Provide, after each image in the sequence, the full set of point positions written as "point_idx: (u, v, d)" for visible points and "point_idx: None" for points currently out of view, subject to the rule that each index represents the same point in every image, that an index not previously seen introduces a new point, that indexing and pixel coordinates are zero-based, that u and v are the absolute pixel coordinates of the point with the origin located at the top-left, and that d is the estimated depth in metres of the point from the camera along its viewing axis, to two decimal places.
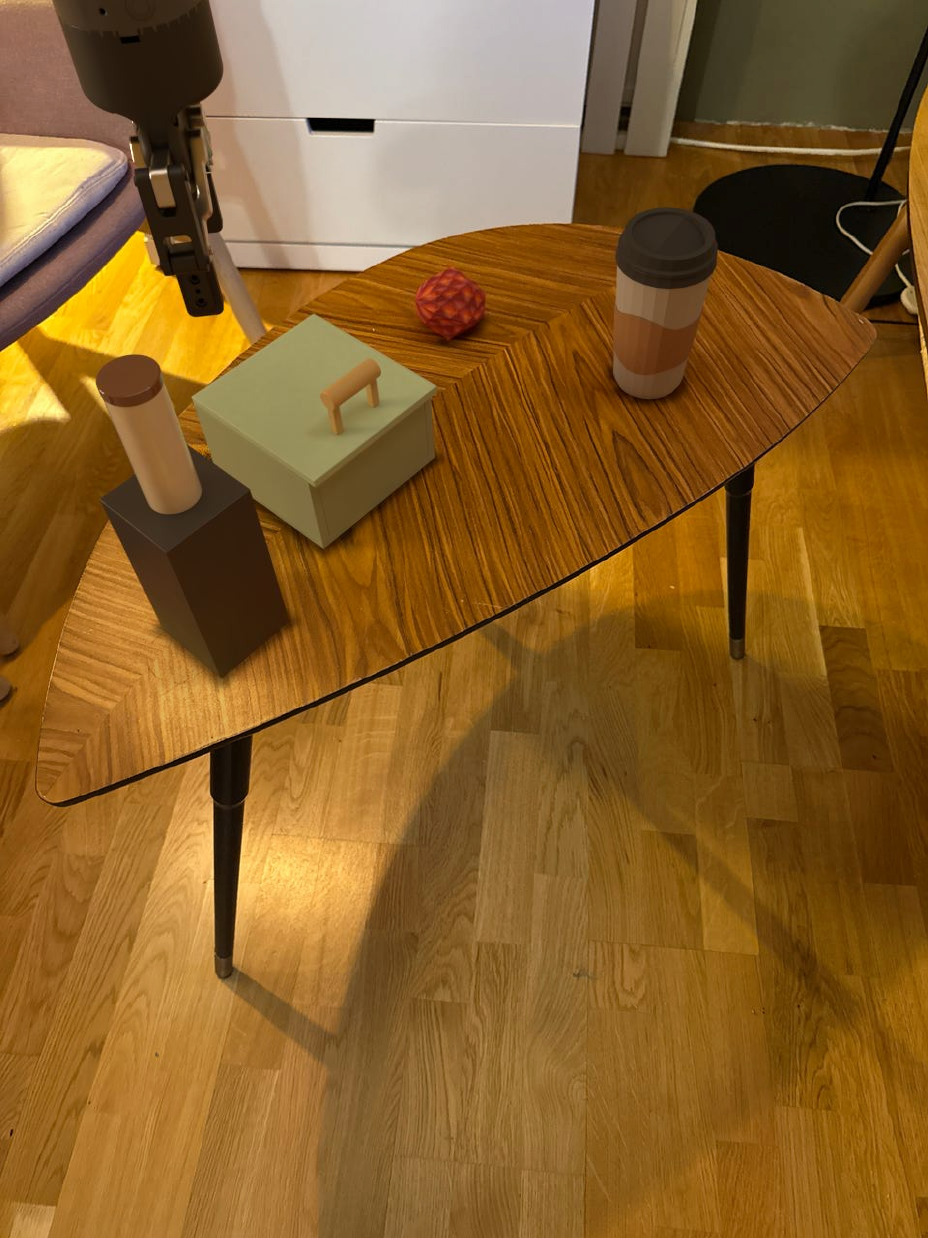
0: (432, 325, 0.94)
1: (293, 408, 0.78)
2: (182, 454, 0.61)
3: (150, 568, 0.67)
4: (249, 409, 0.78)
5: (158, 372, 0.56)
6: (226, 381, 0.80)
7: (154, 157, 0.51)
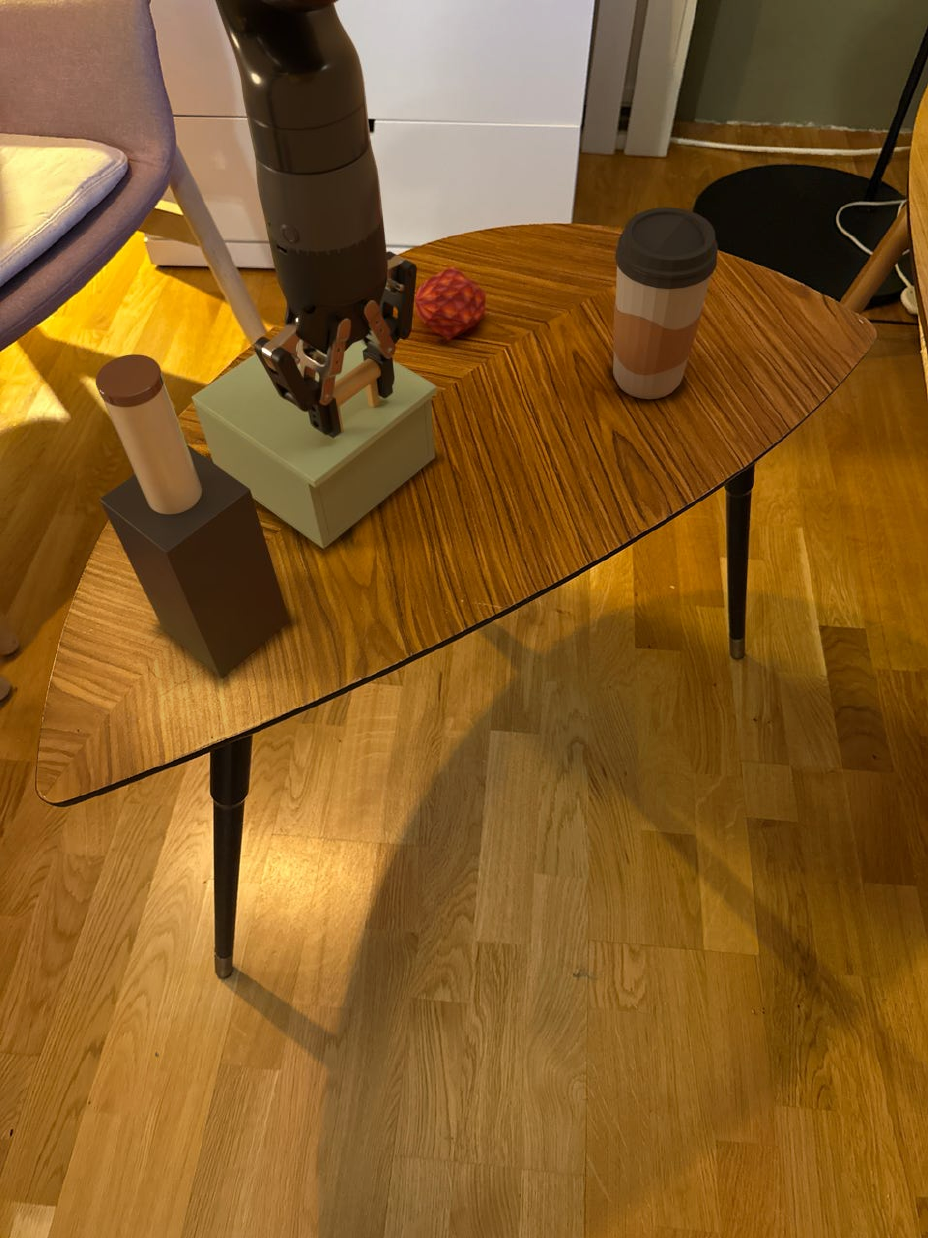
0: (432, 325, 0.94)
1: (293, 408, 0.78)
2: (182, 454, 0.61)
3: (150, 568, 0.67)
4: (249, 409, 0.78)
5: (158, 372, 0.56)
6: (226, 381, 0.80)
7: (281, 332, 0.66)
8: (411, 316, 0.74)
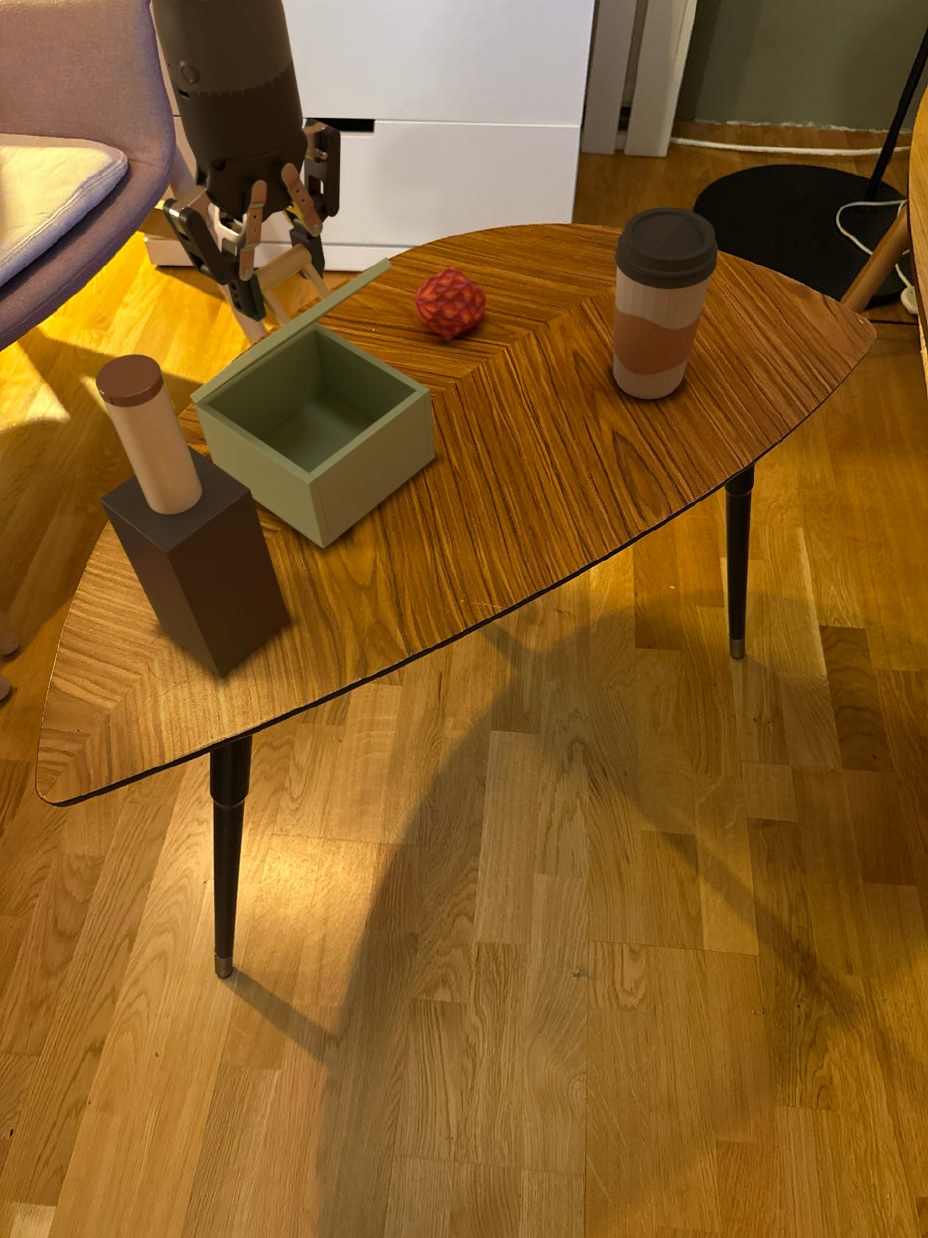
0: (432, 325, 0.94)
1: None
2: (182, 454, 0.61)
3: (150, 568, 0.67)
4: None
5: (158, 372, 0.56)
6: None
7: (191, 192, 0.63)
8: (338, 191, 0.70)
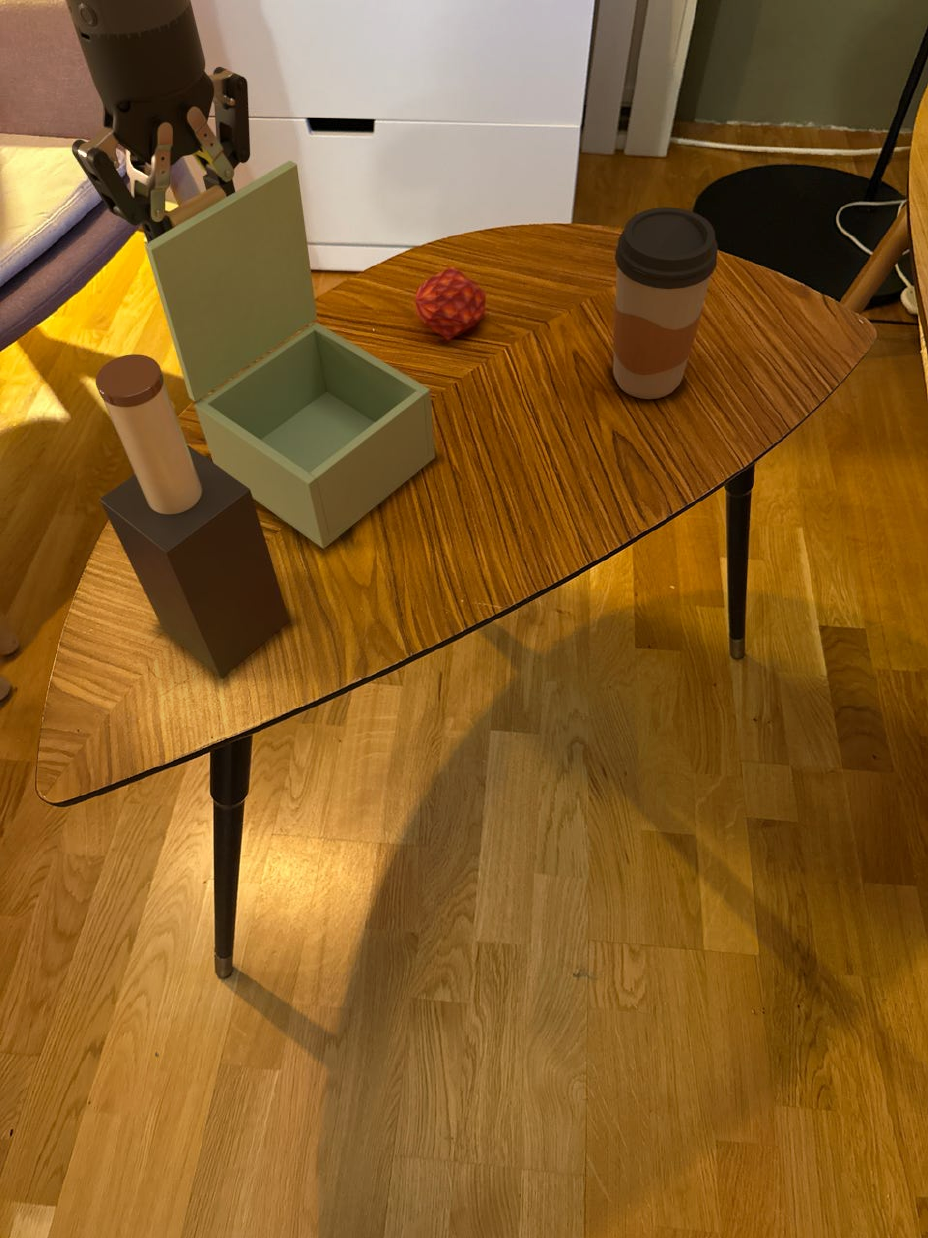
0: (432, 325, 0.94)
1: None
2: (182, 454, 0.61)
3: (150, 568, 0.67)
4: None
5: (158, 372, 0.56)
6: None
7: (98, 134, 0.66)
8: (248, 137, 0.73)
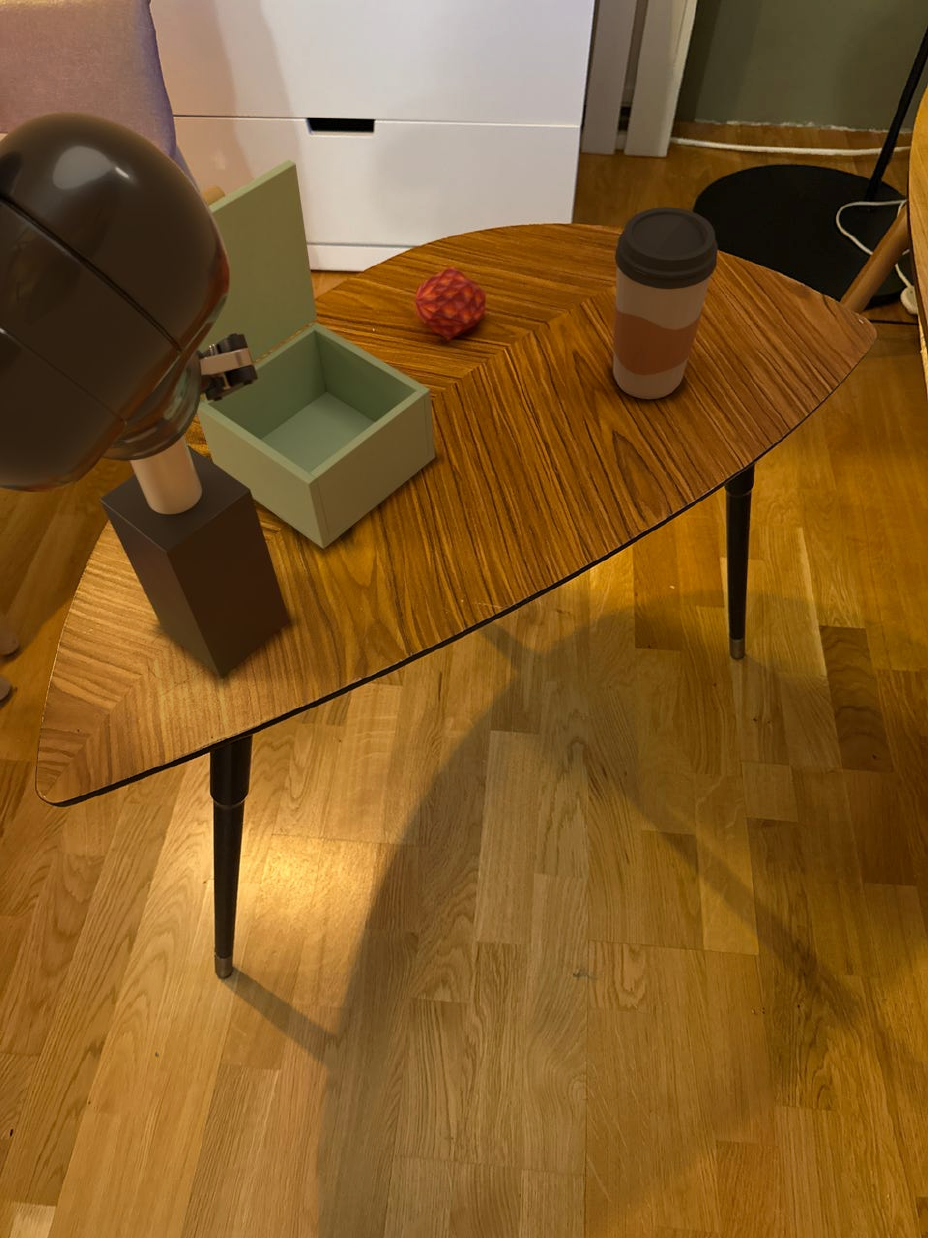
0: (432, 325, 0.94)
1: None
2: (182, 454, 0.61)
3: (150, 568, 0.67)
4: None
5: None
6: None
7: None
8: (231, 392, 0.56)
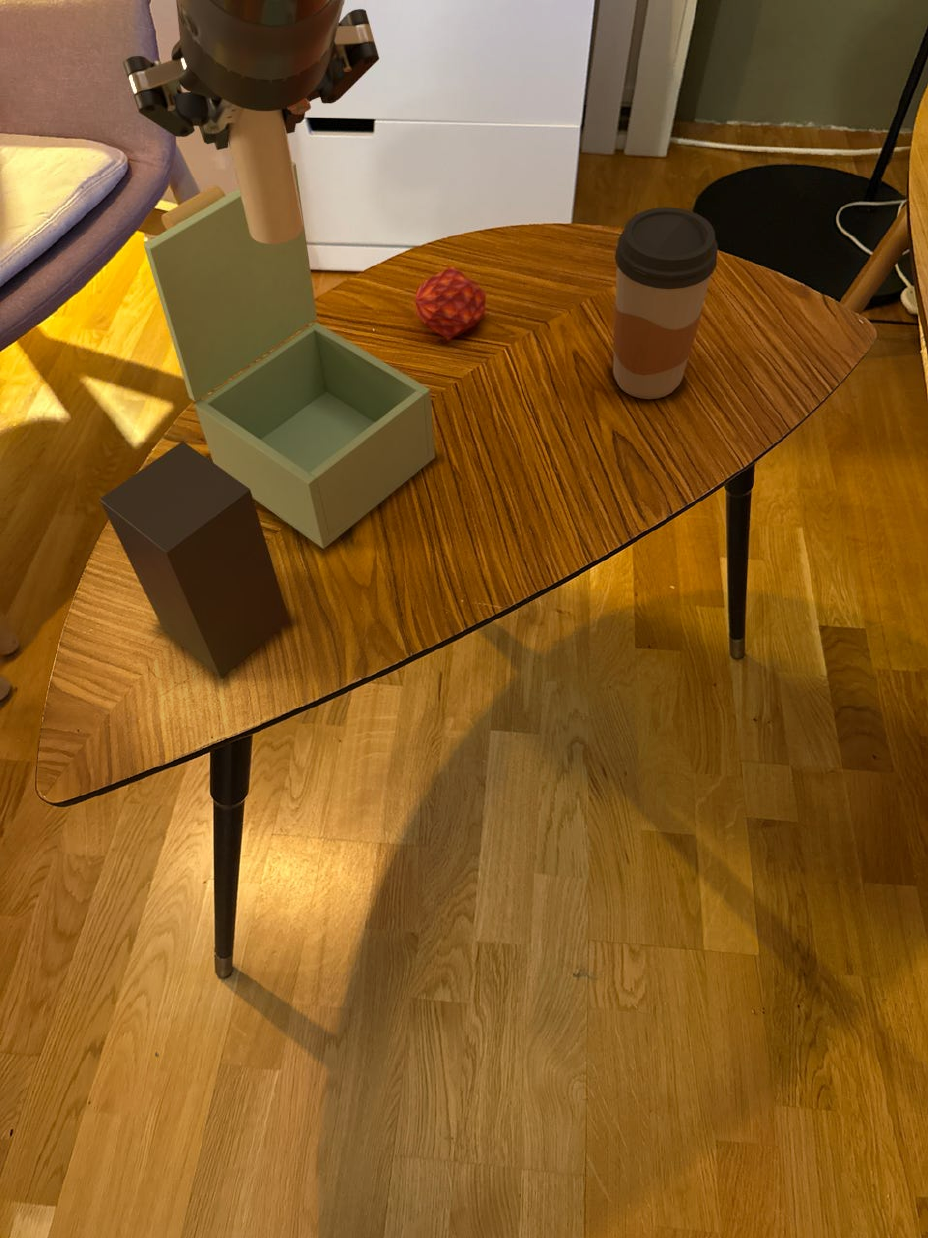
0: (432, 325, 0.94)
1: None
2: (290, 173, 0.62)
3: (150, 568, 0.67)
4: None
5: None
6: None
7: (160, 67, 0.51)
8: (346, 89, 0.57)
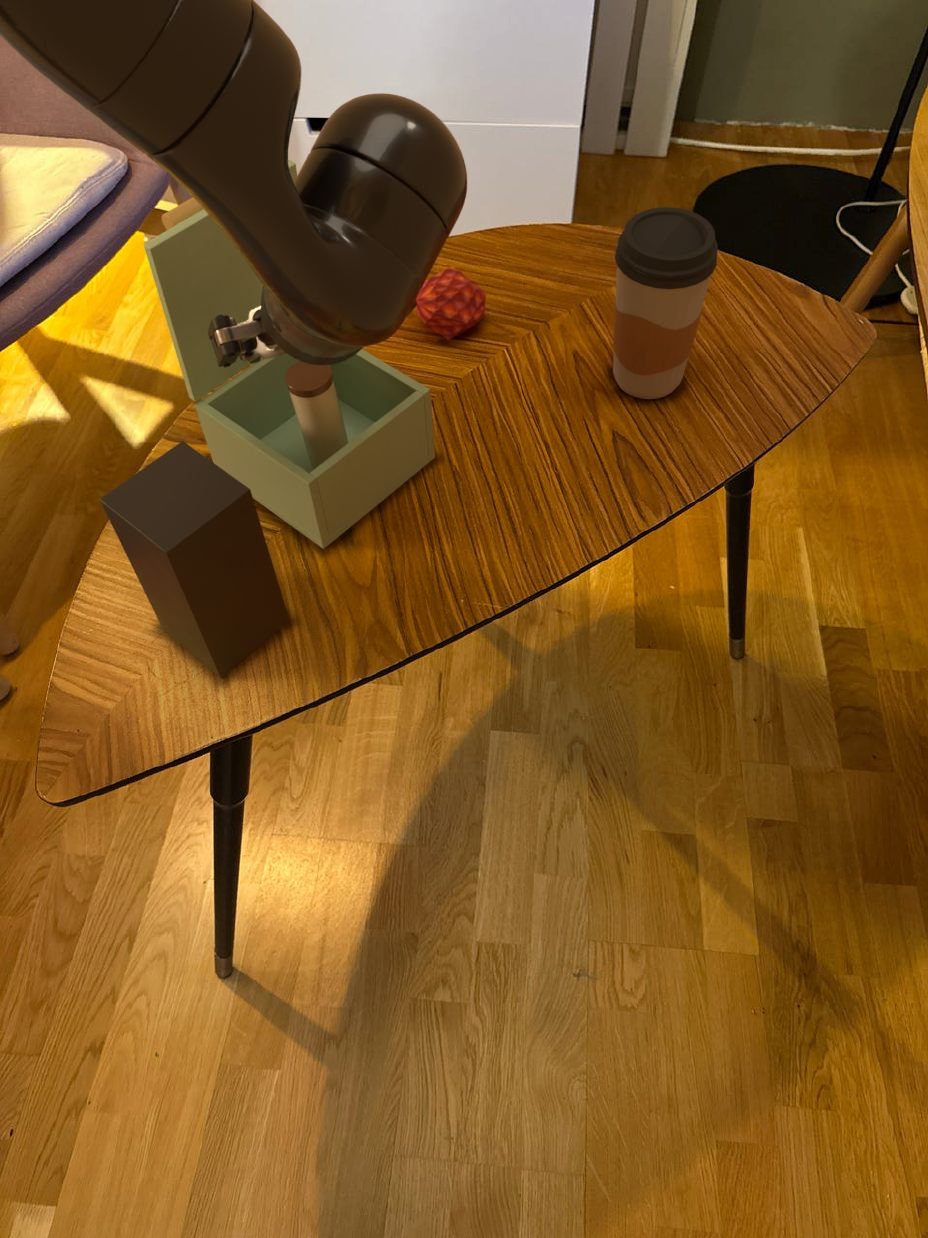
0: (432, 325, 0.94)
1: None
2: (342, 432, 0.81)
3: (150, 568, 0.67)
4: None
5: (330, 371, 0.77)
6: None
7: (245, 325, 0.65)
8: (408, 313, 0.71)
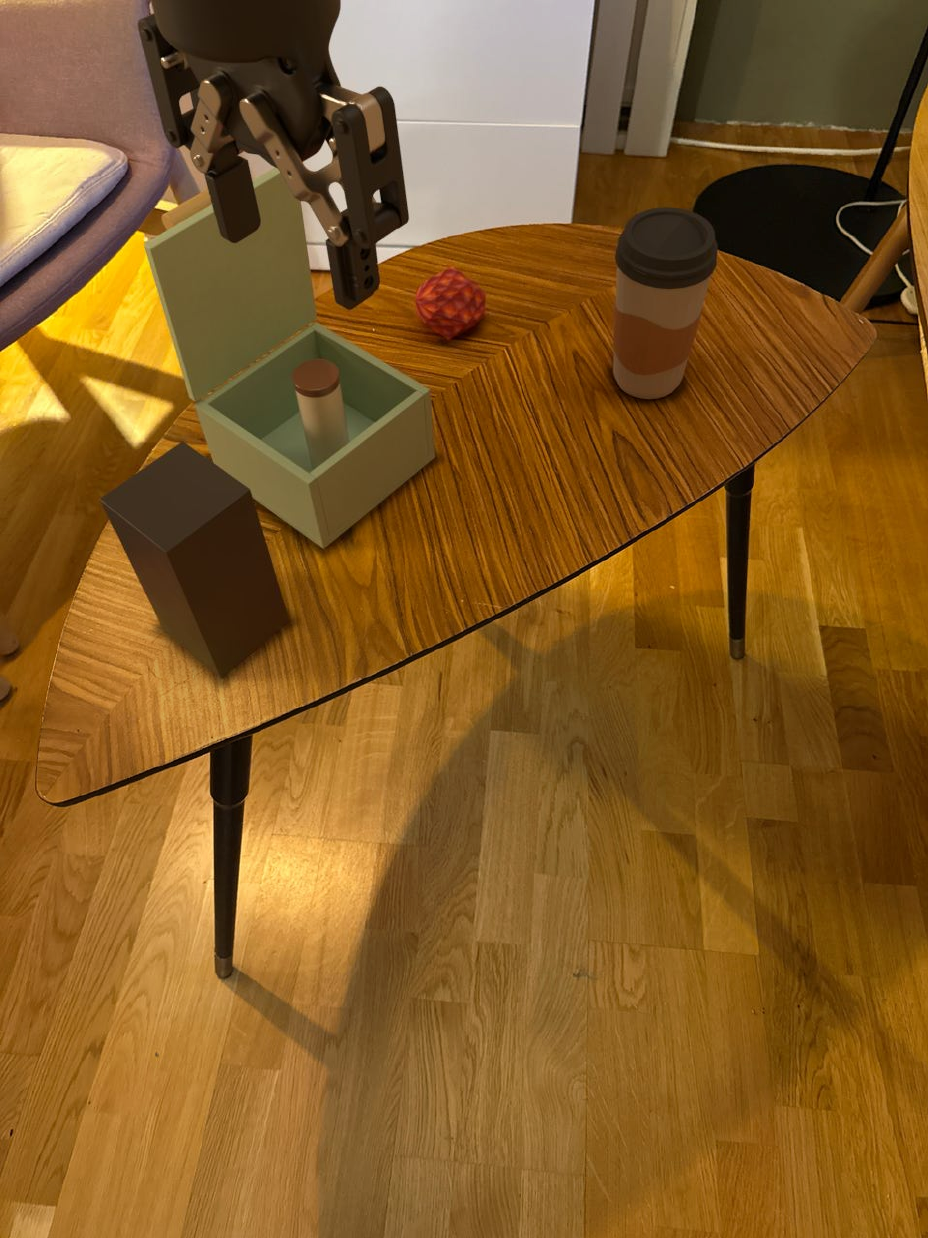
0: (432, 325, 0.94)
1: None
2: (346, 433, 0.82)
3: (150, 568, 0.67)
4: None
5: (337, 372, 0.77)
6: None
7: (333, 95, 0.40)
8: None
